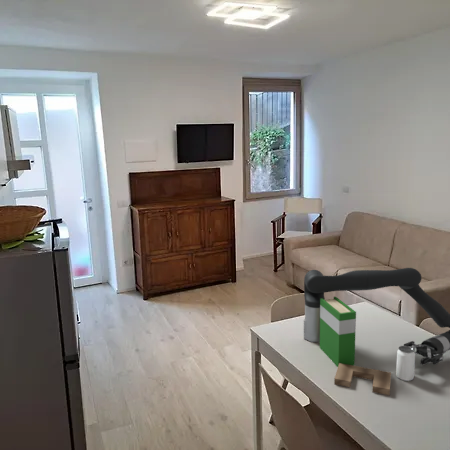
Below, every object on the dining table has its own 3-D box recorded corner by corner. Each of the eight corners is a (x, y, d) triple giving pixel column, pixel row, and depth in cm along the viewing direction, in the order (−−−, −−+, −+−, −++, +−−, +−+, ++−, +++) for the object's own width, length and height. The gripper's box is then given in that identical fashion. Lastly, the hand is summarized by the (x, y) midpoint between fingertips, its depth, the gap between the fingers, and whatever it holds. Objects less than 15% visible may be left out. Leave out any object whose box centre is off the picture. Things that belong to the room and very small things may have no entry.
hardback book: (319, 347, 187) (320, 298, 182) (334, 345, 188) (335, 296, 183) (338, 367, 170) (339, 314, 165) (354, 365, 171) (356, 312, 166)
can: (415, 382, 158) (417, 353, 156) (397, 380, 159) (399, 352, 157) (411, 372, 164) (413, 345, 162) (394, 371, 166) (395, 344, 163)
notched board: (334, 384, 159) (334, 378, 158) (339, 368, 169) (339, 362, 169) (389, 395, 150) (389, 389, 150) (390, 378, 161) (391, 372, 161)
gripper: (420, 331, 176) (396, 341, 168) (453, 344, 164) (428, 356, 156) (419, 347, 177) (395, 358, 169) (451, 361, 165) (427, 374, 157)
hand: (411, 357), depth 162 cm, fingers open, 8 cm apart
